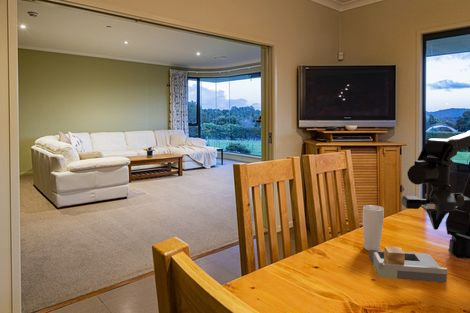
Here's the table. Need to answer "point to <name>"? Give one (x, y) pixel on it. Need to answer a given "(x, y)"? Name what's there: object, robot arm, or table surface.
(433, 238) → the table surface
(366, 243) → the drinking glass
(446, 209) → the robot arm
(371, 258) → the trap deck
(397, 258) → the ochre block
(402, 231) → the table surface
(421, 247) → the table surface
